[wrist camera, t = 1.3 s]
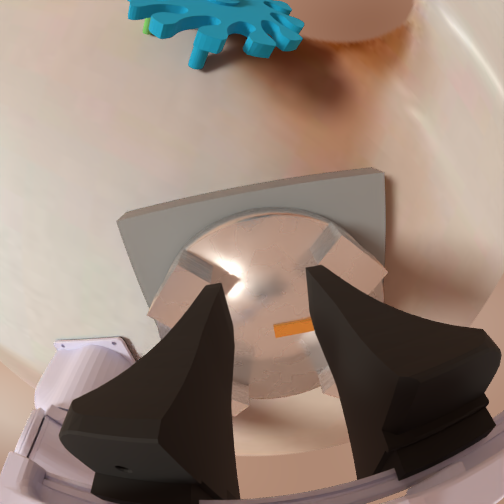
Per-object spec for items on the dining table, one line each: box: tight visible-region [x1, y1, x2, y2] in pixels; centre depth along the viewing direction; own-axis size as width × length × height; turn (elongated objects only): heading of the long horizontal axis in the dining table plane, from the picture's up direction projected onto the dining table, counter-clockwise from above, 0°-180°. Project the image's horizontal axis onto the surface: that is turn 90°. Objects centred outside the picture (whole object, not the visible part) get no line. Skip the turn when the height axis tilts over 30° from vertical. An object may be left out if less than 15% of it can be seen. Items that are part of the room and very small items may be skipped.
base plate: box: [117, 167, 386, 325], centre depth 22 cm, size 18×18×2 cm
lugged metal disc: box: [147, 207, 388, 417], centre depth 19 cm, size 16×16×4 cm
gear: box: [127, 0, 304, 69], centre depth 13 cm, size 11×6×10 cm
